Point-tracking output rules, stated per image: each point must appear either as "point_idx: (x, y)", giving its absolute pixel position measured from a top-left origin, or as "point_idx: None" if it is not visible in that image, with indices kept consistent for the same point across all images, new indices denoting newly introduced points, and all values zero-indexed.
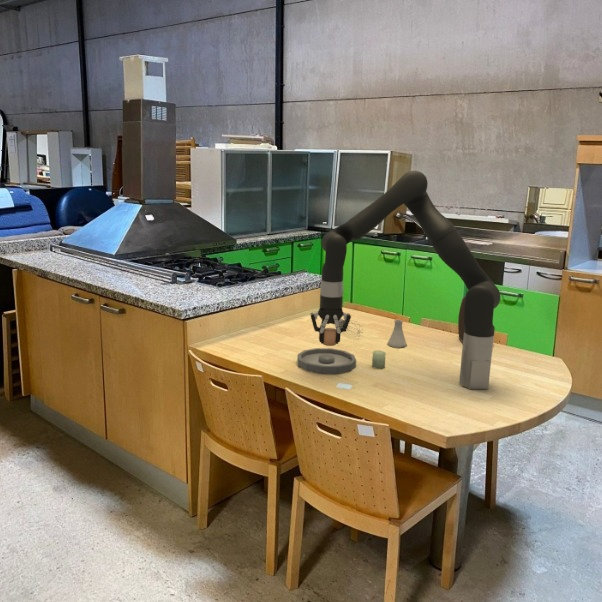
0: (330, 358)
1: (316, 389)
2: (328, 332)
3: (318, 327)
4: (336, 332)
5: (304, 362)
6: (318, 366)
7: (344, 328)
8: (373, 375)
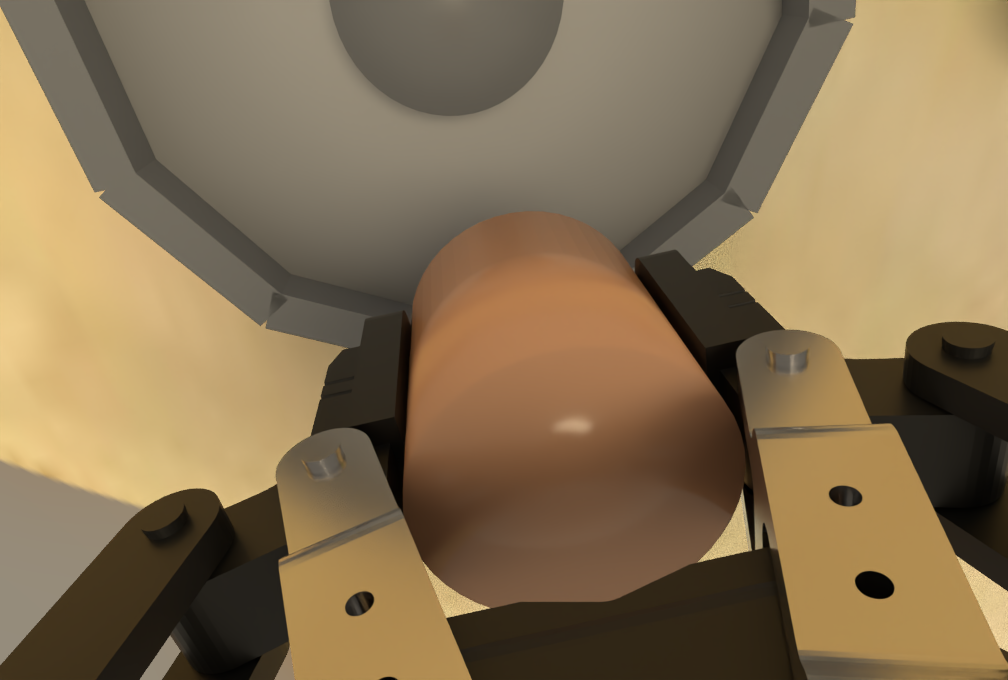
0: (507, 42)
1: (448, 614)
2: (544, 600)
3: (261, 585)
4: (719, 390)
5: (211, 283)
6: None
7: (970, 533)
8: (933, 248)
